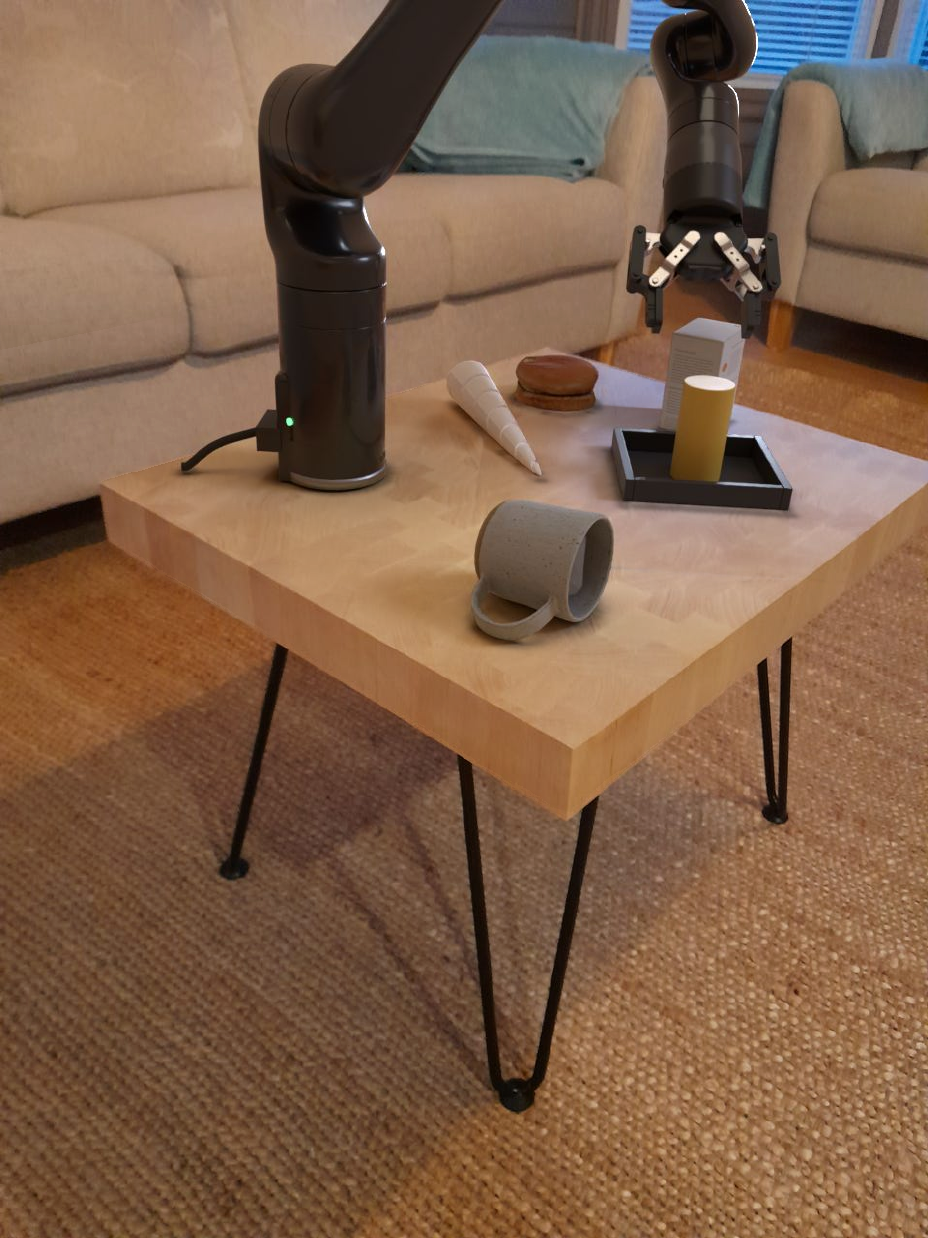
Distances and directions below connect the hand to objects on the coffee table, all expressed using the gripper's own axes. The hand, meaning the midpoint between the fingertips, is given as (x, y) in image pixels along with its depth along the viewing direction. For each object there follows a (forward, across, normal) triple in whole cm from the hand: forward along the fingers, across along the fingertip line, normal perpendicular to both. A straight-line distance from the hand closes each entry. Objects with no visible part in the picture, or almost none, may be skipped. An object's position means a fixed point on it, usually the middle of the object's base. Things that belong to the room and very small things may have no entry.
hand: (702, 332), depth 98 cm
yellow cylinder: (+13, 0, +4) cm, 14 cm away
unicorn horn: (+6, -18, +11) cm, 23 cm away
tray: (+13, 0, +4) cm, 14 cm away
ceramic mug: (+33, -16, -15) cm, 39 cm away
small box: (+2, +3, +15) cm, 16 cm away
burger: (-2, -12, +20) cm, 23 cm away
